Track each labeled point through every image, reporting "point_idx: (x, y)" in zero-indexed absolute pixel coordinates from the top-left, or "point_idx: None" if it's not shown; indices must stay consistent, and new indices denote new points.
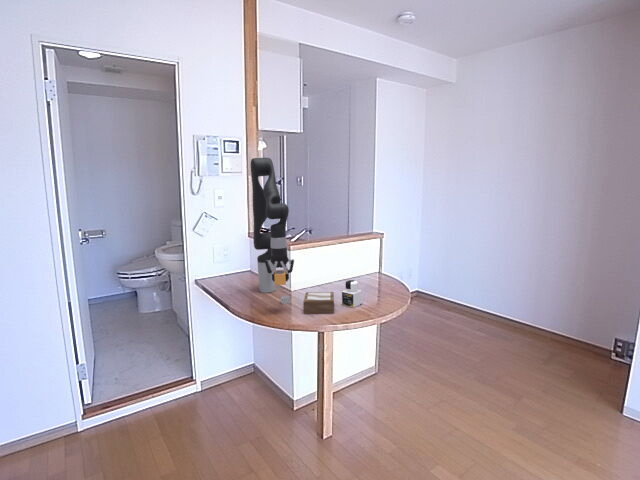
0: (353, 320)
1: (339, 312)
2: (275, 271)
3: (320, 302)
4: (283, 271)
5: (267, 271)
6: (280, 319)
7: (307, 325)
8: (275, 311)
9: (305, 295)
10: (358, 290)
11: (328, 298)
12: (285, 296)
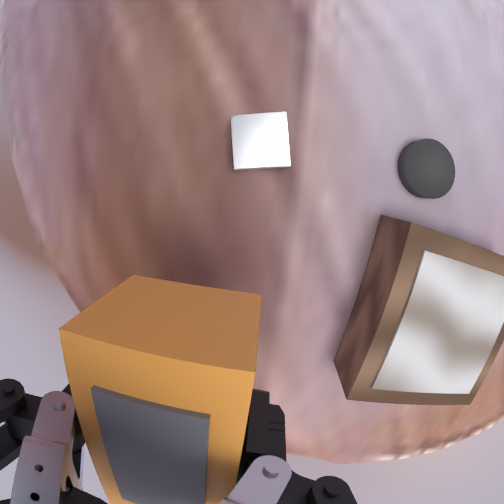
0: (459, 429)
1: None
2: (81, 414)
3: (423, 401)
4: (203, 480)
5: (9, 431)
6: None
7: (313, 455)
8: None
9: (393, 291)
10: None
11: (471, 379)
12: (264, 126)
